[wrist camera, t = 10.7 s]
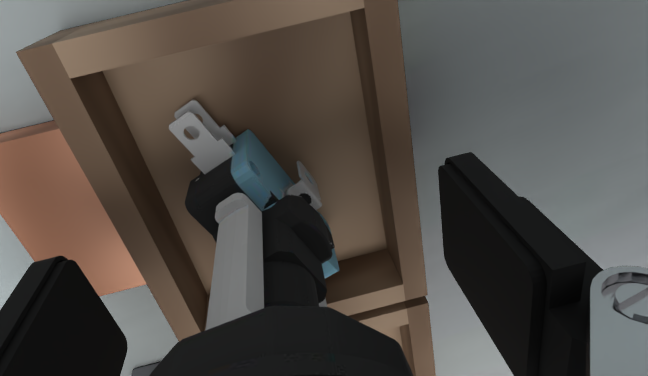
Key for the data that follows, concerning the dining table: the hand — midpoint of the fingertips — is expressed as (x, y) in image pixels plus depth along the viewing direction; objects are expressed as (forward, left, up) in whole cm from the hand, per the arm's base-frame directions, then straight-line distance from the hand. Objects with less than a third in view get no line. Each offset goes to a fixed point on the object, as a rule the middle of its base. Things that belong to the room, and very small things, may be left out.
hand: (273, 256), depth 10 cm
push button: (0, 0, -5) cm, 5 cm away
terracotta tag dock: (+2, 0, -5) cm, 5 cm away
